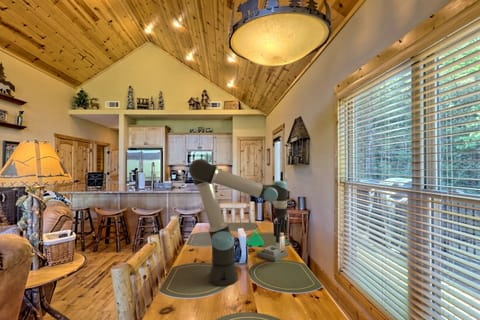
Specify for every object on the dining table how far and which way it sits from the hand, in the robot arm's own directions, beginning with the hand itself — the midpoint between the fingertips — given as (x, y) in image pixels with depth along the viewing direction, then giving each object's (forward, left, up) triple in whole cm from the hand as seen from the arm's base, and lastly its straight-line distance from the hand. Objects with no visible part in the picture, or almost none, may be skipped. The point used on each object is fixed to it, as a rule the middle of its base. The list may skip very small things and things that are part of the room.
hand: (280, 246), depth 151 cm
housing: (+8, +12, -11) cm, 18 cm away
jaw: (0, 0, -2) cm, 2 cm away
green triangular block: (+19, +34, -11) cm, 40 cm away
